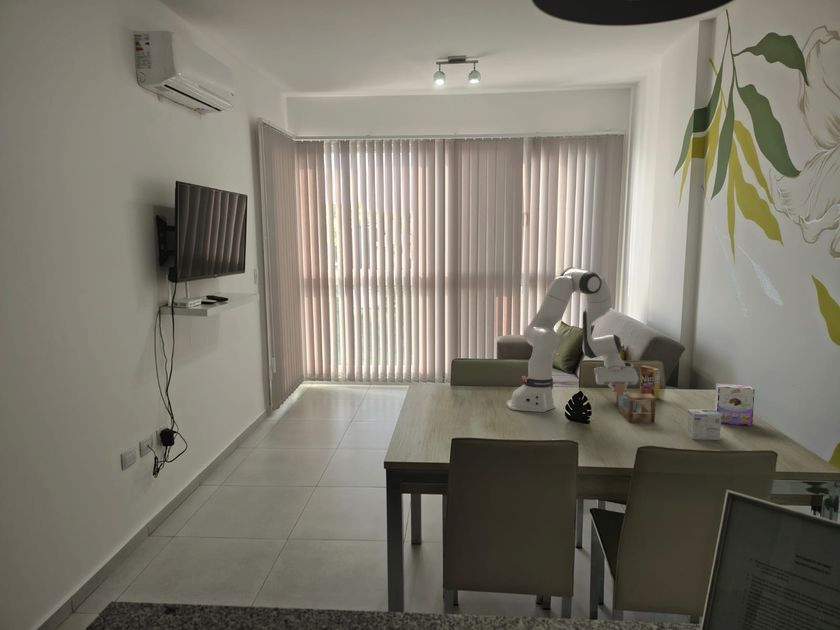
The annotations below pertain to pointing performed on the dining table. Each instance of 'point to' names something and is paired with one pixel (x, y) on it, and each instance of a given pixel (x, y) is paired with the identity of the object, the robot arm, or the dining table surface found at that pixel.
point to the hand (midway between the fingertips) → (619, 391)
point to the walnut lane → (646, 413)
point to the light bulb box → (703, 424)
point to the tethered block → (622, 396)
